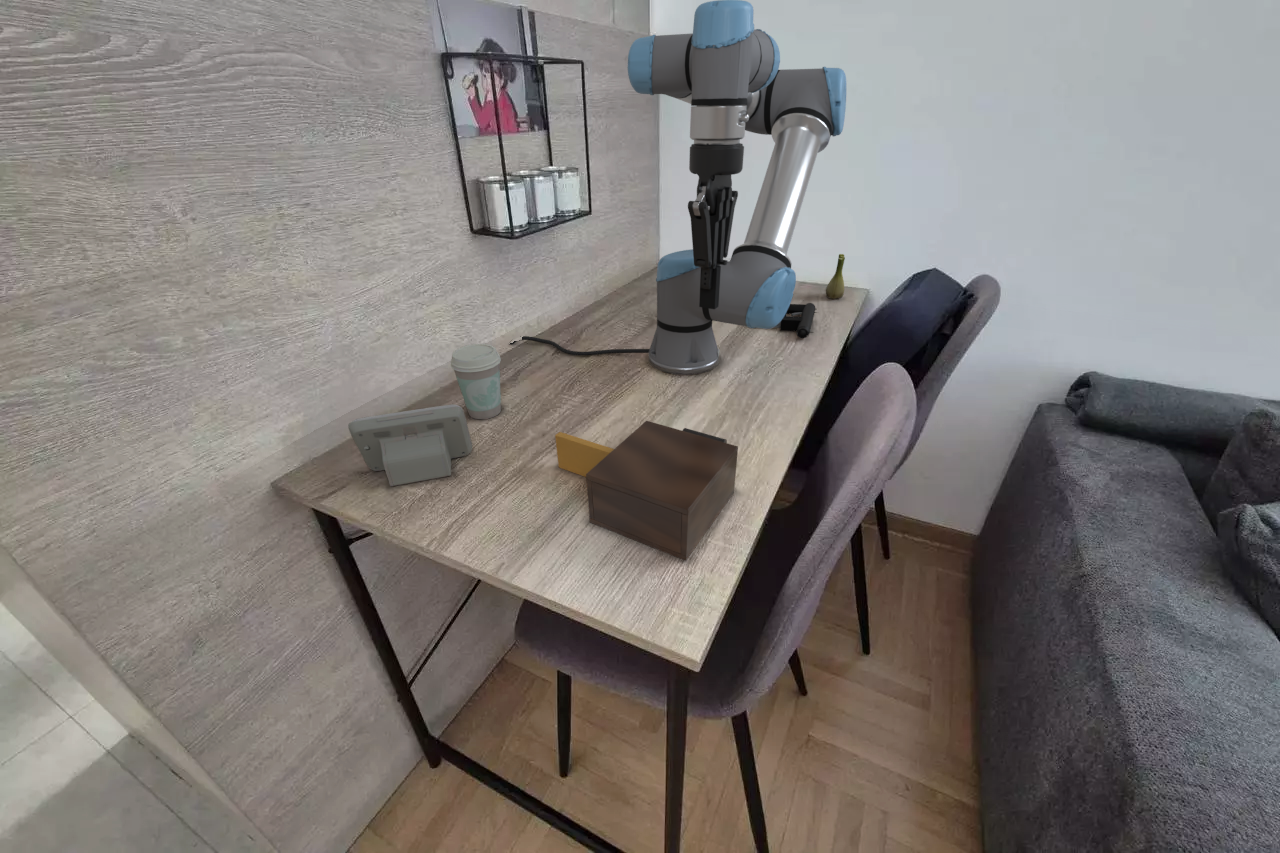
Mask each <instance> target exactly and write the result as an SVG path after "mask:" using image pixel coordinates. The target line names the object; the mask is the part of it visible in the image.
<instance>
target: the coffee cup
mask: <svg viewBox="0 0 1280 853" xmlns="http://www.w3.org/2000/svg"><path fill="white" fill-rule="evenodd" d="M501 361H502V358H501V356H500V354H499V352H498V351H497V348H496V347H495V346H493V345H491V344H487V343H473V344H467V345H463V346H460V347H458V348H456V349H454V350H453V352H452V353H451V359H450V367H451V369H452V370H453V372H454V374H455V377H456V381H457V384H458V386H459V390H460V392H461V395H462V398H463V402H464V405H465V407H466V410H467V412H468V416H469V417H471V418H472V419H475V420H488V419H491V418H495V417H496V416H498V415H499V414H500V413H501V411H502V401H501V400H502V398H501V394H502V393H501V373H500V372H501V371H500V369H501V368H500V363H501Z"/></svg>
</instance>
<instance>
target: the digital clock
mask: <svg viewBox="0 0 1280 853" xmlns="http://www.w3.org/2000/svg"><path fill="white" fill-rule="evenodd" d="M347 427H348V431H349V433H350V436H351V438H352V440H353V441H354V443H355V445H356V447H357V449H358V451H359V453H360V455H361V457H362V459H363V461H364V462H365V465H366V466H367V468H369V469H370V470H371V471H372V472H378V471H379V472H380V471H385V474H386V477H387V481H388V483H389V487H396V486H402V485H406V484H413V483H419V482H423V481H428V480H434V479H439V478H440V479H441V478H446V477H450V476H452V459H456V458H462V457H465V456H468V455H469V454H471V453H472V451H473V442H472V438H471V435H470V430H469V426H468V422H467V417H466V413H465V410H464V409H463V407H462V406H460V405H458V404H455V403H454V404H444V405H439V406H430V407H425V408H419V409H412V410H411V409H410V410H404V411H398V412H391V413H383V414H378V415H377V414H376V415H372V416H371V415H370V416H366V417H358V418H356V419H354V420H352V421H350V422H349V423H348V426H347Z"/></svg>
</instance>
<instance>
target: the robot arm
mask: <svg viewBox="0 0 1280 853" xmlns="http://www.w3.org/2000/svg"><path fill="white" fill-rule="evenodd" d="M780 52H781V51H780V48H779V46H778V43H777V41H776V40H775V39H774V38H773V37H772V36H771V35H769V34H768V33H767V32H766V30H762V29H761V28H756V29H755V24H754V6H753V5H752V3H751V2H749V1H747V0H711V1H705V2H703V3H701V4H700V5H698V6H697V7H696V9H695V11H694V16H693V26H692V32H691V33H679V34H677V33H676V34H662V35H656V34H652V35H648V36H644V37H639V38H636V39H635V40H634V41H633V42H632V44H631V45H630V47H629V50H628V54H627V76H628V81H629V82H630V85H631V87H632V89H633V90H634V91H635V92H636V93H638V94H639V95H650V96H654V95H664V96H665V95H666V96H668V97H670V98H674V99H677V100H679V101H682V102H684V103H688V104H689V105H690V120H689V121H690V123H689V138H690V140H691V141H693V143H692V144H691V146H690V147H689V165H688V166H689V167H688V169H689V172H690V173H691V174H694V175H697V176H698V181H697V187H696V198H695V200H689V201H688V203H687V210H688V214H689V217H690V227H691V228H690V229H691V230H690V231H691V243H692V249H683V250H679V251H674V252H671V253H667V254H666V255H664V256H662V257H661V258H660V259H659V260H658V262H657V266H656V267H657V269H656V278H655V282H656V329H655V332H654V335H653V338H652V341H651V343H650V346H649V348H615V349H614V348H613V349H601V350H591V351H577V350H570V349H566V348H564V347H562V346H561V345H560V344H558V343H556V342H555V341H553V340H549V339H545V338H544V339H543V338H540V337H534V336H530V335H529V336H528V335H522V336H523V337H522V340H519V341H532V342H536V343H540V344H546V345H549V346H553V347H554V348H555V349H557V350H559V351H560V352H561V353H563V354H566V355H571V356H578V357H579V356H582V357H584V356H585V357H586V356H598V355H599V356H600V355H609V354H648V363H649V365H650V366H651V367H652V368H654V369H656V370H657V371H660V372H662V373H665V374H671V375H678V376H691V375H693V376H694V375H699V374H703V373H704V374H705V373H707V372H709V371H712V370H714V369H715V368H716V367H717V366H718V365H719V361H720V353H721V350H720V348H719V347H718V344H717V340H716V337H715V334H714V330H713V322H717V323H724V324H731V325H736V326H742V327H746V328H750V329H763V330H764V329H765V330H769V329H773V328H774V327H775V326H776V325H777V324H779V323H780V322H781V320H782V319H783V317H784V316H785V314H786V312H787V310H788V308H789V305H790V304H792V303H791V302H792V299H793V297H794V291H795V289H796V284H797V276H796V275H797V274H796V272H795V270H794V269H793V268H792V266H793V265H792V261H791V259H790V258H789V256H788V255H787V254H788V251H789V248H790V244H791V241H792V237H793V235H794V232H795V229H796V225H797V222H798V219H799V216H800V212H801V208H802V205H803V202H804V200H805V199H804V198H805V197H806V196H805V195H806V192H807V189H808V186H809V182H810V178H811V176H812V173H813V169H814V166H815V163H816V159H817V156H818V154H819V153H821V152H822V151H824V150H825V149H826V148H827V147H828V145H829V142H830V140H831V136H832V137H837V136H840V135H842V133H843V129H844V124H845V118H846V108H847V76H846V73H845V71H844V70H843V69H842V68H840V67H827V66H822V68H821V67H820V68H796V69H795V68H793V69H792V68H791V69H790V68H789V69H779V68H780V63H781V53H780ZM746 131H747V132H749V133H754V134H758V135H763V136H767V135H769V136H771V138H772V140H773V142H774V146H773V148H772V149H773V150H772V152H771V156H770V158H769V162H768V165H767V168H766V172H765V175H764V177H763V181H762V185H761V188H760V191H759V194H758V197H757V200H756V203H755V207H754V210H753V213H752V216H751V219H750V222H749V226H748V228H747V232H746V235H745V239H744V242H743V243H742V244H740V245H738V246H736V247H735V248H734V249H733V251H732V254H731V256H730V260H727V259H726V258H728V255H729V248H730V241H731V234H732V228H733V220H734V215H735V209H736V205H737V200H738V197H739V191H738V190H733V188H732V187H733V180H732V175H737V174H740V173H741V172H742V171H743V168H744V156H745V154H744V153H745V146H744V144H743V143H742V142H741V140H743V139H744V138H745V134H746ZM519 341H514V342H513V343H510V342H509V343H510V344H509V343H508V345H509V346H511V345H514V344H515V343H518V342H519Z"/></svg>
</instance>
